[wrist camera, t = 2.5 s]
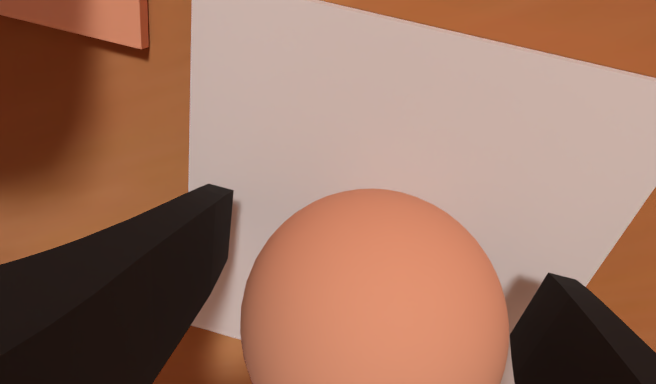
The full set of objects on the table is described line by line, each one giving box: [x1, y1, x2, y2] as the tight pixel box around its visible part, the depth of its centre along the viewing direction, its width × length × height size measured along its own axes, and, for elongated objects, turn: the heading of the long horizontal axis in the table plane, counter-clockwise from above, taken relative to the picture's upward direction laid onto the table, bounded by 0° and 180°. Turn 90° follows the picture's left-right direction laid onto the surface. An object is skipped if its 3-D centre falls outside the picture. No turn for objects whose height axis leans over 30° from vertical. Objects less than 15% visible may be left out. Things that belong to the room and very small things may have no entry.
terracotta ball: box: [240, 188, 509, 384], centre depth 8 cm, size 5×5×5 cm
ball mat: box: [188, 0, 656, 384], centre depth 10 cm, size 10×10×1 cm
